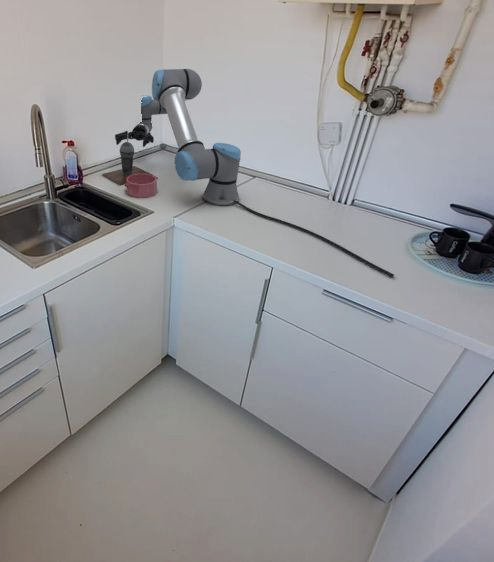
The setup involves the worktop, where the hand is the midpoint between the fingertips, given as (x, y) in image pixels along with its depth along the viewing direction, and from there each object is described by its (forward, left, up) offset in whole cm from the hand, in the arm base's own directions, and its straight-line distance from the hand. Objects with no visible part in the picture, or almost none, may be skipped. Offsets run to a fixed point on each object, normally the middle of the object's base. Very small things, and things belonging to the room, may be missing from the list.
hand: (130, 143), depth 183 cm
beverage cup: (-4, +5, -14) cm, 15 cm away
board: (-4, +5, -14) cm, 16 cm away
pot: (-24, +11, -14) cm, 30 cm away
